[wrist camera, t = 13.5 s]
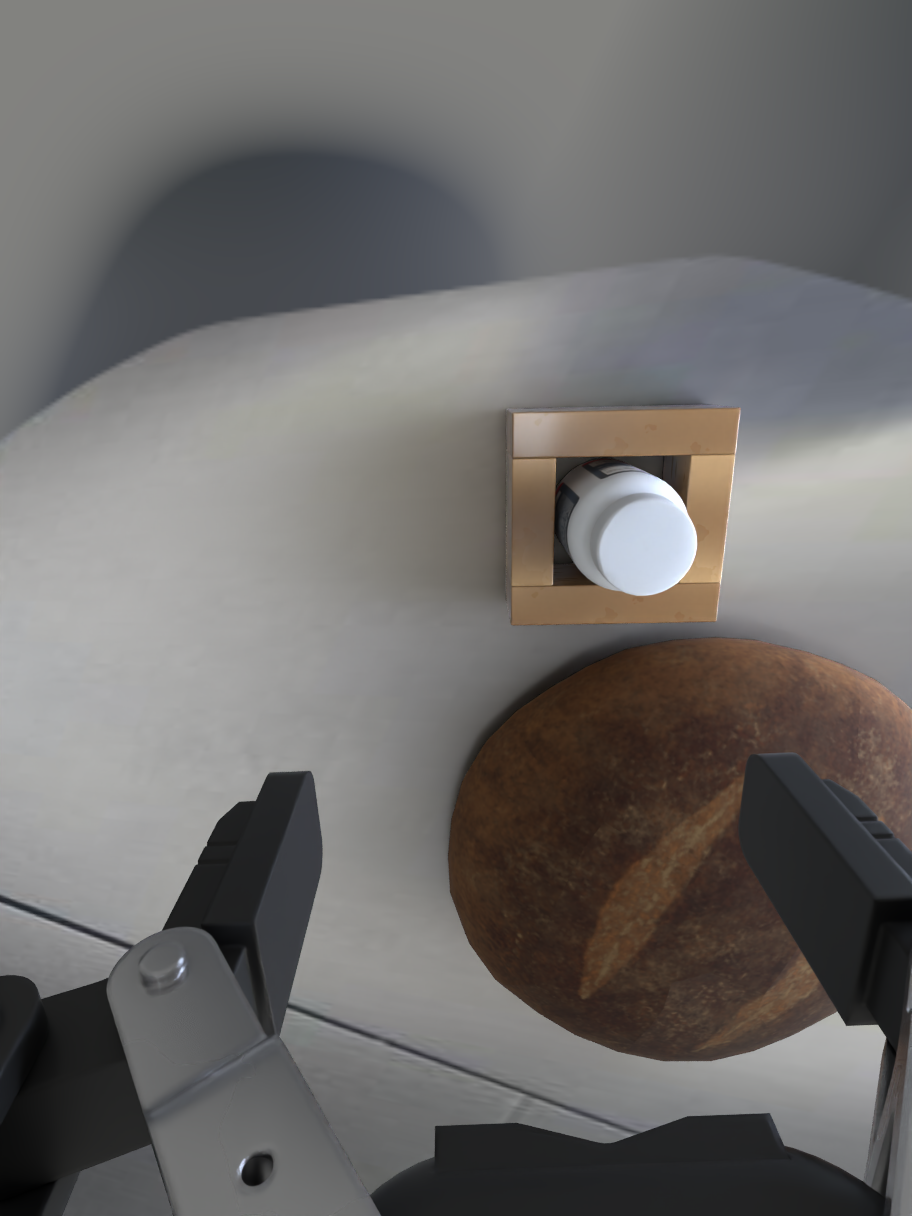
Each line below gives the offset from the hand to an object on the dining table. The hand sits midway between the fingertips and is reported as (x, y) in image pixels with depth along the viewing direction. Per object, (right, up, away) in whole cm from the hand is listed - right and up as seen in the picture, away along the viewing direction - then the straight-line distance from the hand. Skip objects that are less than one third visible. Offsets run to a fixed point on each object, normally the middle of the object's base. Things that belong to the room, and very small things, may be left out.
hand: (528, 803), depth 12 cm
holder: (+6, +9, +22) cm, 25 cm away
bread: (+13, -10, +29) cm, 33 cm away
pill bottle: (+6, +9, +22) cm, 25 cm away
